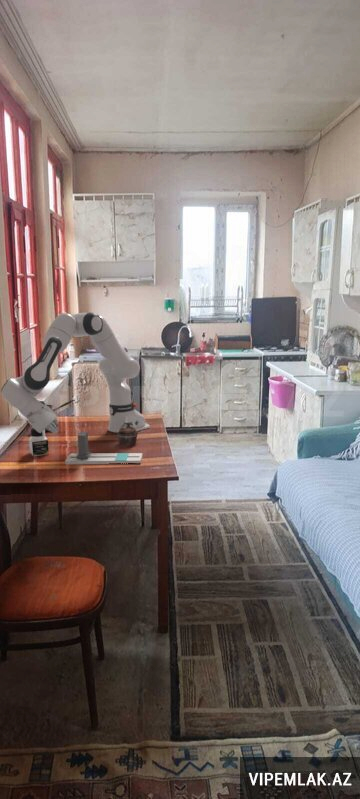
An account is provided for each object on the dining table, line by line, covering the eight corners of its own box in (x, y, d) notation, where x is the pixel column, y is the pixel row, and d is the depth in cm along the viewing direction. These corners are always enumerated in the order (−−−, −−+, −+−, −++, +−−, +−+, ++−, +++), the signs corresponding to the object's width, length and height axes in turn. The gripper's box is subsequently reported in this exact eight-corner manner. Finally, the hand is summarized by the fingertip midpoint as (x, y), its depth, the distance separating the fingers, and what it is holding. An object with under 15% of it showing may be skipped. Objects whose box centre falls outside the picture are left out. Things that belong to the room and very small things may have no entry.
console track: (65, 464, 210) (65, 460, 210) (70, 456, 220) (70, 453, 219) (140, 463, 209) (140, 460, 209) (142, 456, 219) (142, 452, 219)
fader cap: (76, 458, 211) (75, 436, 209) (79, 453, 218) (78, 431, 216) (88, 458, 211) (86, 435, 209) (91, 453, 218) (90, 431, 216)
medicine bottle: (33, 456, 220) (31, 430, 218) (29, 452, 226) (27, 427, 224) (49, 454, 223) (47, 428, 221) (45, 450, 230) (43, 425, 227)
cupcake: (116, 441, 242) (115, 421, 240) (135, 439, 245) (134, 419, 243) (120, 447, 233) (119, 426, 231) (140, 444, 237) (139, 424, 235)
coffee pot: (39, 433, 259) (37, 405, 256) (35, 428, 269) (33, 401, 266) (79, 428, 267) (78, 401, 264) (74, 423, 278) (73, 397, 274)
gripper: (30, 410, 200) (55, 433, 202) (44, 400, 220) (67, 421, 222) (20, 421, 201) (45, 444, 203) (35, 410, 221) (58, 431, 223)
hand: (57, 432), depth 212 cm, fingers closed
